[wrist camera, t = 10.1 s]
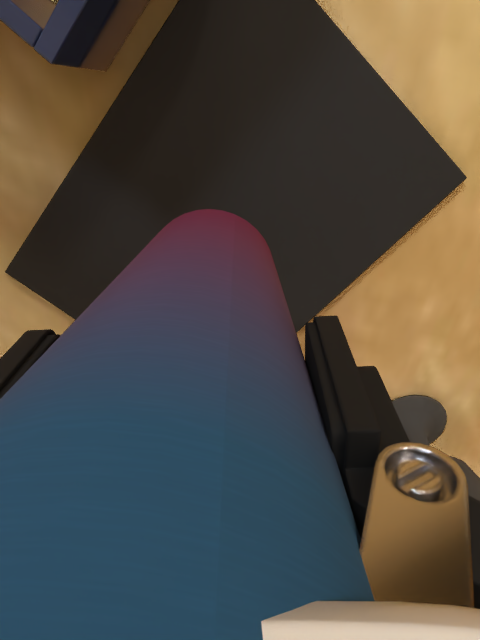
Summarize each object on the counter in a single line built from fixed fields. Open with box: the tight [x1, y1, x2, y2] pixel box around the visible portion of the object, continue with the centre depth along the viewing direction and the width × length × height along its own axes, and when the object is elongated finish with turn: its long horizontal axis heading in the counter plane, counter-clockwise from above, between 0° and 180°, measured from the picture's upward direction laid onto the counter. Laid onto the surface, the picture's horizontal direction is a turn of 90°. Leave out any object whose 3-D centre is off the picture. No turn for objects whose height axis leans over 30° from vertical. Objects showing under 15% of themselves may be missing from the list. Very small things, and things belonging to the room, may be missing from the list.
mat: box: [5, 0, 467, 333], centre depth 22 cm, size 15×20×1 cm
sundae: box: [392, 395, 480, 501], centre depth 22 cm, size 7×7×15 cm
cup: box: [0, 209, 375, 640], centre depth 10 cm, size 7×7×15 cm
